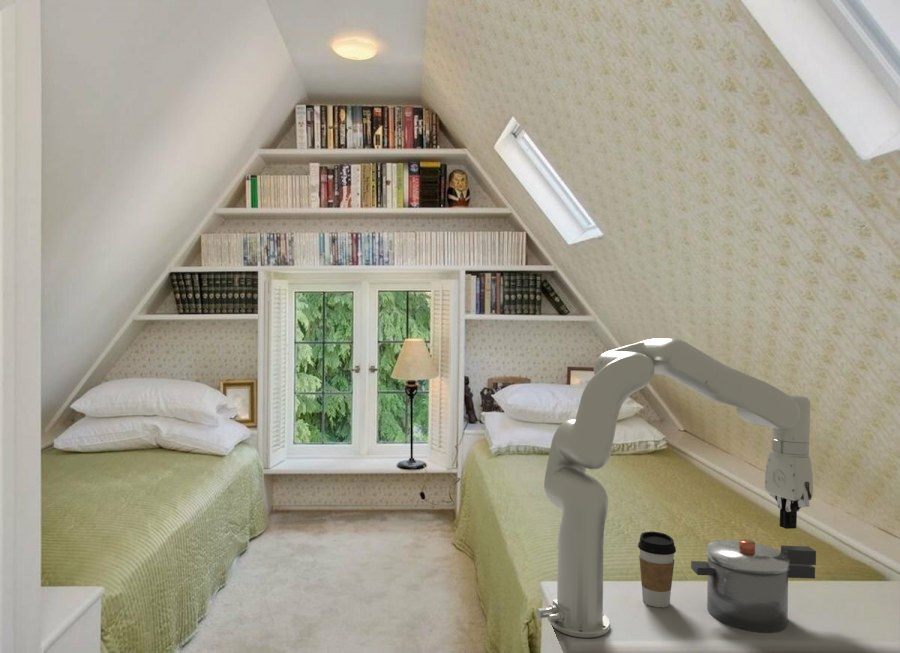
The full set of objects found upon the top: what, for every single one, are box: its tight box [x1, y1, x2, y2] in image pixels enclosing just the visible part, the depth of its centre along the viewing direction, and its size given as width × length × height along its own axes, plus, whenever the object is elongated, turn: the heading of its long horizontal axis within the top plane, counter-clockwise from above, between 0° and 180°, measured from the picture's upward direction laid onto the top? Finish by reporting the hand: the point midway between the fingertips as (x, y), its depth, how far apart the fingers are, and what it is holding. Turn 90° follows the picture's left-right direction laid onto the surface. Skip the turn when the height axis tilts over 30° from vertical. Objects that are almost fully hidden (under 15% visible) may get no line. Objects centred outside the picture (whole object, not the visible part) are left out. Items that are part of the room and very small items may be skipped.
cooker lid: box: [705, 538, 817, 574], centre depth 133 cm, size 22×17×4 cm
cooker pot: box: [690, 557, 816, 634], centre depth 133 cm, size 26×16×12 cm, turn 88°
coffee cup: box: [637, 531, 677, 608], centre depth 139 cm, size 8×8×15 cm
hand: (787, 527), depth 139 cm, fingers closed
